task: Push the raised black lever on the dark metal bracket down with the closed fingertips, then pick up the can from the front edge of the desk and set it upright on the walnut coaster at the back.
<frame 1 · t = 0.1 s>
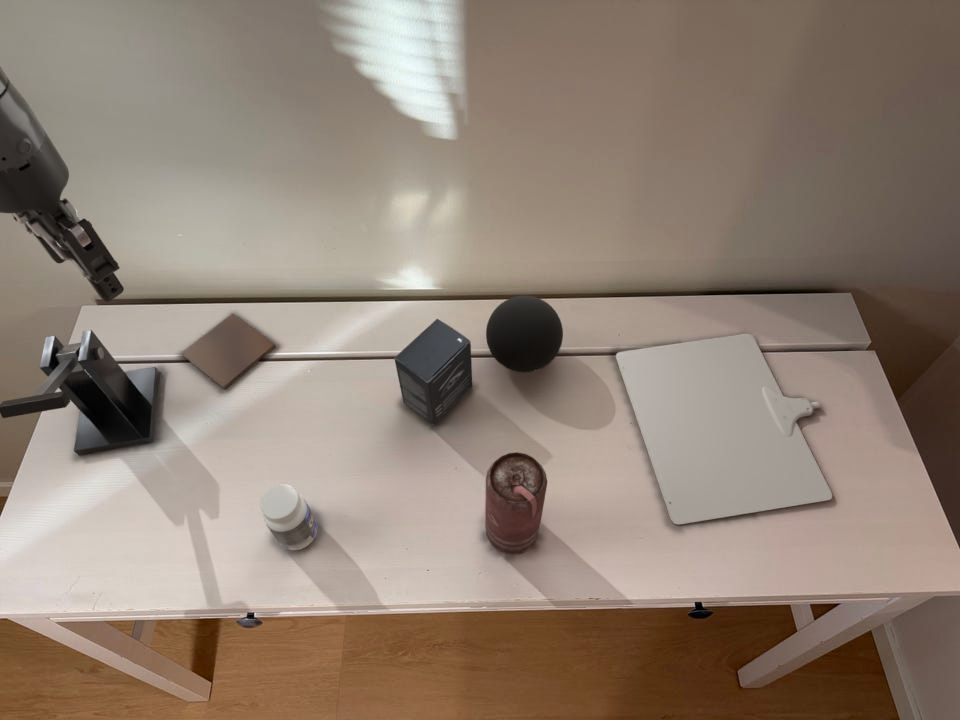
hand: (89, 276, 68), 23 cm above the table, tool pointing down, fingers open, 8 cm apart
pill bottle: (297, 531, 76), on the table
clipboard: (729, 420, 85), on the table
can: (512, 531, 76), on the table
lever: (56, 377, 71), point 14 cm above the table, hinge at 28.0°
box: (438, 397, 87), on the table
coaster: (229, 351, 91), on the table
decorative ball: (522, 357, 91), on the table
bracket: (120, 411, 86), on the table
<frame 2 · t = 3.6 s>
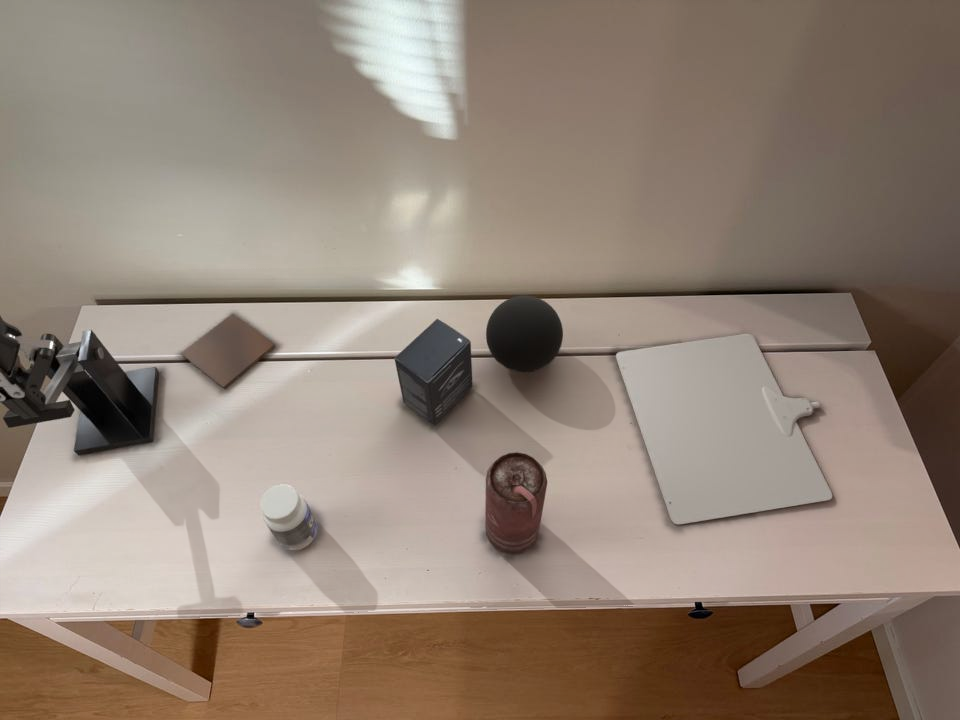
hand: (35, 409, 66), 17 cm above the table, tool pointing down, fingers closed
lever: (59, 382, 72), point 14 cm above the table, hinge at 21.9°
everything else where it was.
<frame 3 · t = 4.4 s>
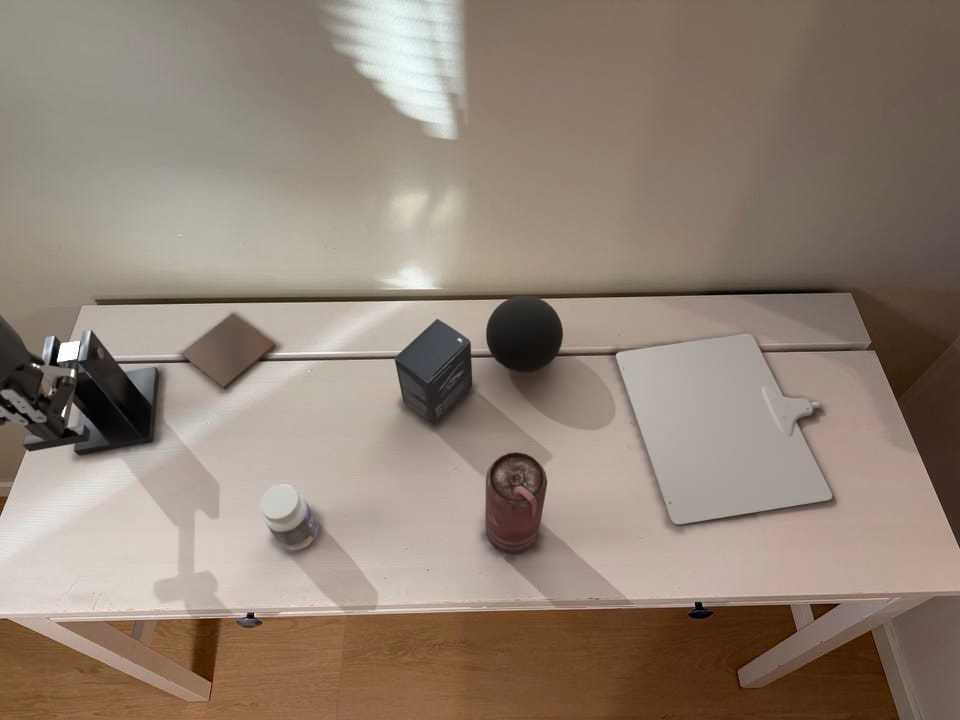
hand: (55, 432, 69), 13 cm above the table, tool pointing down, fingers closed
lever: (66, 393, 73), point 12 cm above the table, hinge at 2.3°, touching gripper
everything else where it was.
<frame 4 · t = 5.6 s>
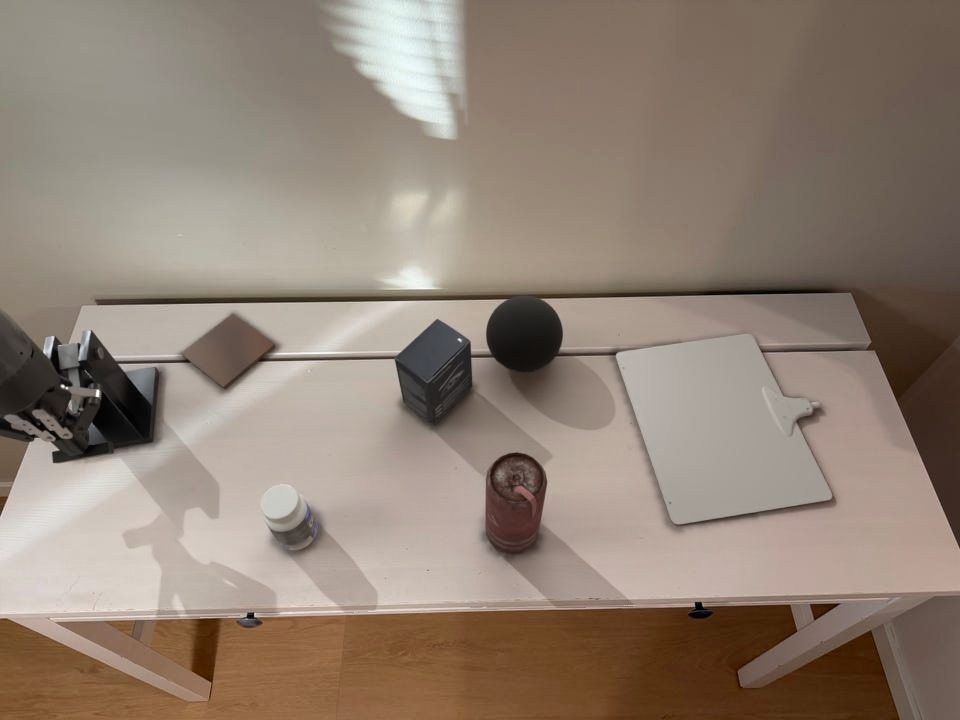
hand: (79, 447, 74), 8 cm above the table, tool pointing down, fingers closed
lever: (78, 401, 75), point 10 cm above the table, hinge at -25.9°, touching gripper
everything else where it was.
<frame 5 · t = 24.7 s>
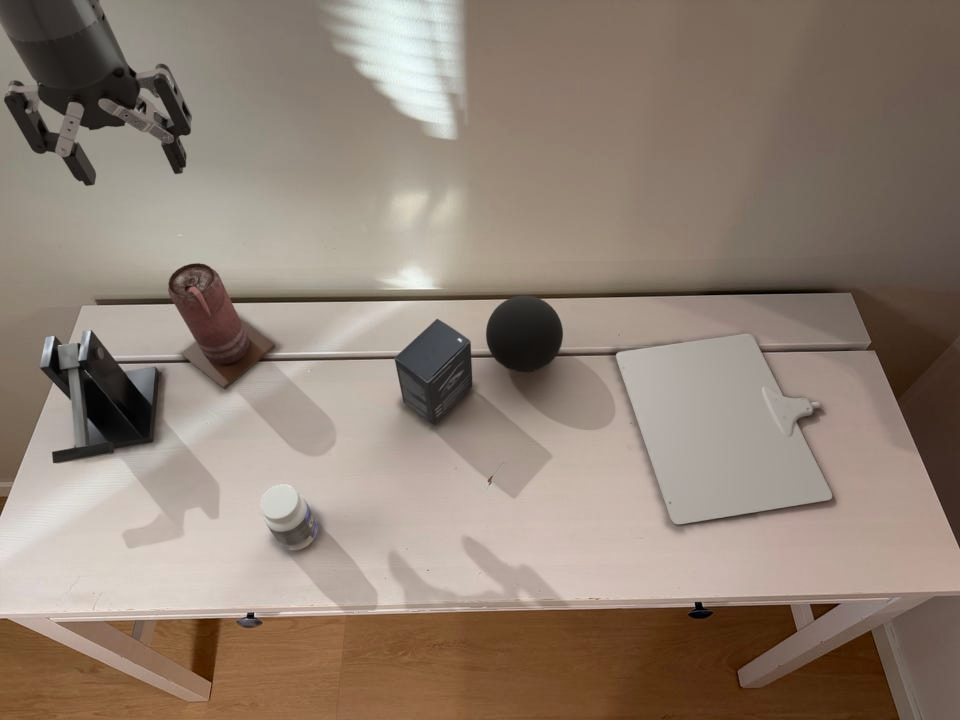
hand: (136, 174, 67), 30 cm above the table, tool pointing down, fingers open, 8 cm apart
can: (228, 350, 91), resting on coaster
lever: (78, 401, 75), point 10 cm above the table, hinge at -26.0°
everything else where it was.
at the end: lever at -26° (first picture: +28°); can inside the target area on the coaster (0.1 cm from its centre), point 0.4 cm above the coaster's base; can tilted 0° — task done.
